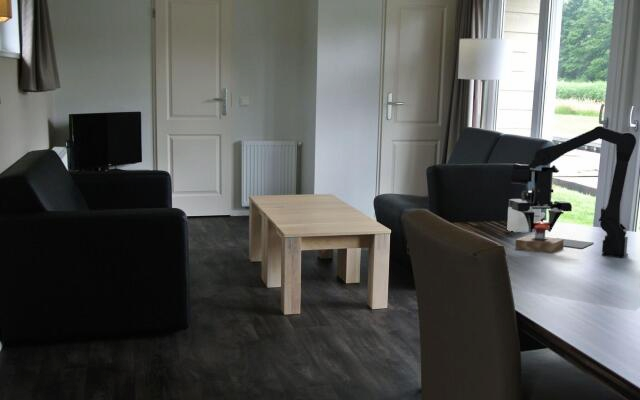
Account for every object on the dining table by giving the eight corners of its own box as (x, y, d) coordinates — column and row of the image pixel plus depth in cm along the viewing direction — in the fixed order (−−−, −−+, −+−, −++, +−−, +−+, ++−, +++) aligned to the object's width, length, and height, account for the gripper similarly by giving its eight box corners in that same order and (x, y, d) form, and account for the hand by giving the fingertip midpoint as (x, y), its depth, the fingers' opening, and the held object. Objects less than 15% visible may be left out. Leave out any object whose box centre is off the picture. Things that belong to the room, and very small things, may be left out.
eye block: (563, 247, 234) (563, 239, 234) (550, 253, 225) (551, 244, 225) (528, 243, 242) (529, 234, 241) (515, 248, 232) (515, 239, 232)
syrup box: (540, 228, 273) (542, 192, 271) (525, 228, 274) (527, 191, 272) (539, 226, 279) (541, 190, 277) (523, 225, 280) (525, 190, 278)
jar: (511, 232, 263) (513, 201, 261) (502, 229, 271) (504, 198, 269) (533, 232, 264) (535, 201, 263) (524, 229, 272) (526, 198, 271)
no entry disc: (544, 244, 236) (545, 220, 235) (551, 248, 230) (553, 223, 229) (527, 244, 236) (528, 220, 235) (534, 248, 230) (535, 223, 229)
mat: (593, 243, 243) (593, 242, 243) (581, 249, 233) (582, 247, 233) (556, 239, 251) (556, 237, 251) (543, 244, 241) (543, 242, 241)
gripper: (558, 183, 240) (556, 227, 242) (506, 182, 237) (504, 227, 239) (573, 186, 229) (571, 233, 231) (519, 186, 226) (517, 233, 228)
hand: (540, 231), depth 233 cm, fingers closed on no entry disc, 6 cm apart
